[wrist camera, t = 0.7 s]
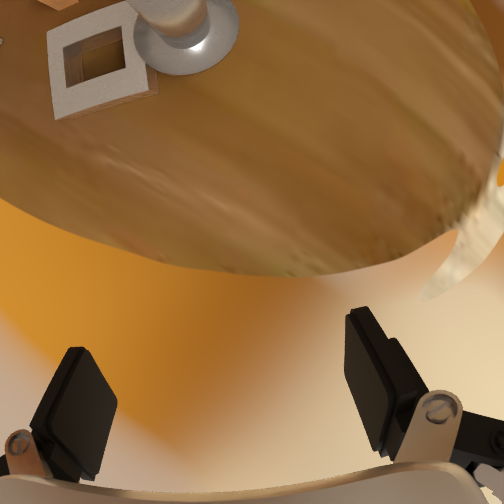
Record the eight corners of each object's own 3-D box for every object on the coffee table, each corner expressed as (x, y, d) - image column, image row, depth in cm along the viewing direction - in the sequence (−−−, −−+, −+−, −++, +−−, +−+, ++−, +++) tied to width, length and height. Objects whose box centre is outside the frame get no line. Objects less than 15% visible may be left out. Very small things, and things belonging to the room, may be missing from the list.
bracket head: (66, 39, 27) (-42, 5, 9) (231, -5, 27) (232, -107, 9) (75, 118, 31) (-42, 133, 13) (244, 78, 31) (258, 29, 13)
